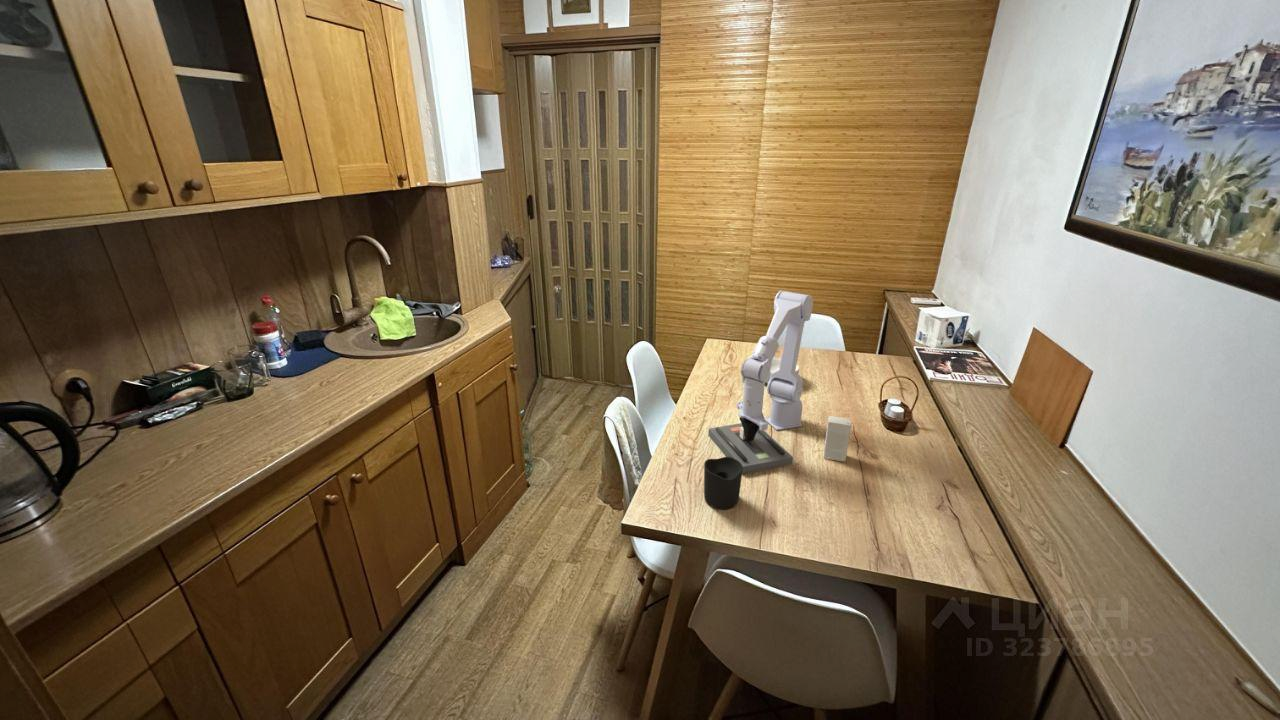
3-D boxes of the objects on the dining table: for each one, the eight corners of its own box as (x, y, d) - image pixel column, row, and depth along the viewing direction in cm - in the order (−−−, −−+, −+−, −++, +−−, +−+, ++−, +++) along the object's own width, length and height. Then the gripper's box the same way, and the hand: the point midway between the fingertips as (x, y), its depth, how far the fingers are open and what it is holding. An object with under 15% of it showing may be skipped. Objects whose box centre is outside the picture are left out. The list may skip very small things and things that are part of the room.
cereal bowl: (802, 378, 195) (804, 362, 193) (790, 394, 182) (792, 377, 180) (761, 370, 204) (762, 354, 201) (746, 384, 191) (747, 367, 188)
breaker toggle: (747, 435, 150) (748, 425, 148) (751, 438, 148) (751, 428, 147) (739, 436, 149) (740, 427, 148) (742, 439, 147) (743, 430, 146)
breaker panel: (753, 427, 159) (754, 417, 158) (792, 464, 140) (793, 453, 138) (708, 435, 155) (708, 425, 154) (741, 474, 135) (742, 463, 134)
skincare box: (844, 454, 145) (851, 418, 140) (845, 462, 141) (851, 425, 136) (823, 451, 146) (828, 415, 142) (822, 458, 143) (828, 422, 138)
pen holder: (732, 515, 120) (735, 481, 116) (696, 503, 124) (698, 470, 120) (744, 494, 127) (747, 461, 124) (710, 484, 132) (712, 452, 128)
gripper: (728, 390, 146) (726, 430, 151) (753, 412, 133) (749, 455, 138) (750, 387, 148) (746, 426, 153) (776, 408, 135) (771, 450, 140)
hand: (749, 439), depth 146 cm, fingers closed
